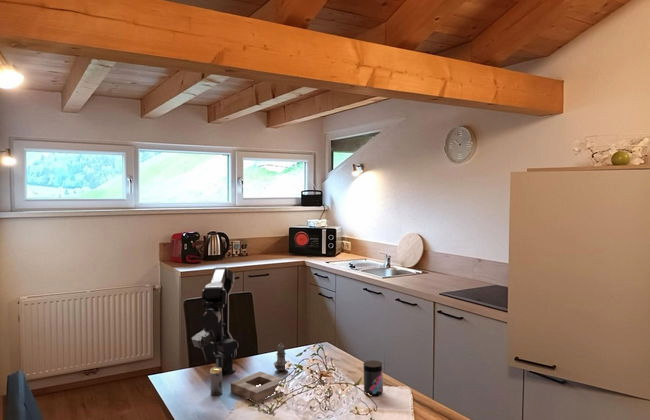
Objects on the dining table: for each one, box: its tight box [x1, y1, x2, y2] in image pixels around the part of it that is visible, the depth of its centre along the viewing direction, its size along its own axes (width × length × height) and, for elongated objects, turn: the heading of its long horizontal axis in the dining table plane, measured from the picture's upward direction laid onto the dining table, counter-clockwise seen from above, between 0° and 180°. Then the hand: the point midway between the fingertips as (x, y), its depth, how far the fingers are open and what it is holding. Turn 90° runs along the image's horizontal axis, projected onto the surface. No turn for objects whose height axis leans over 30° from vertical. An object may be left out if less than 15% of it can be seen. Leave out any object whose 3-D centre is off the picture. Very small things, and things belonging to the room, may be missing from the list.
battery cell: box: [209, 366, 223, 397], centre depth 169 cm, size 4×4×9 cm
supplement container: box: [363, 359, 384, 397], centre depth 168 cm, size 7×7×10 cm
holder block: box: [230, 371, 283, 403], centre depth 171 cm, size 14×14×4 cm
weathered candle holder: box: [273, 342, 289, 376], centre depth 189 cm, size 6×6×12 cm
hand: (215, 365), depth 169 cm, fingers open, 9 cm apart
